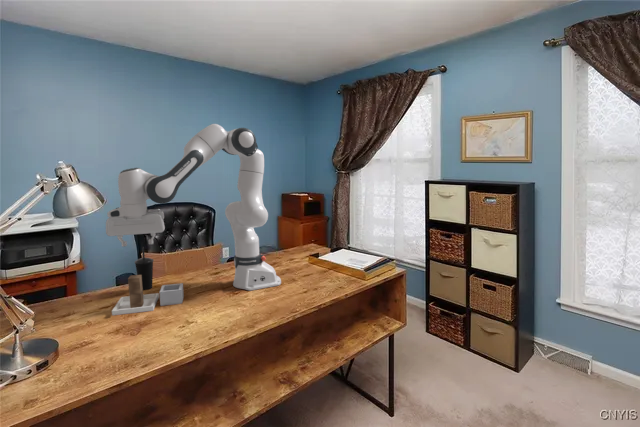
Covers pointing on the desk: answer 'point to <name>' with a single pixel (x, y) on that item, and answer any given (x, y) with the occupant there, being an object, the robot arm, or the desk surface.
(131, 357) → the desk surface
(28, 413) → the desk surface
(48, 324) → the desk surface
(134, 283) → the walnut peg
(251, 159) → the robot arm
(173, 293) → the box
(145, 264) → the drinking cup
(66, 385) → the desk surface
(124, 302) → the tray
